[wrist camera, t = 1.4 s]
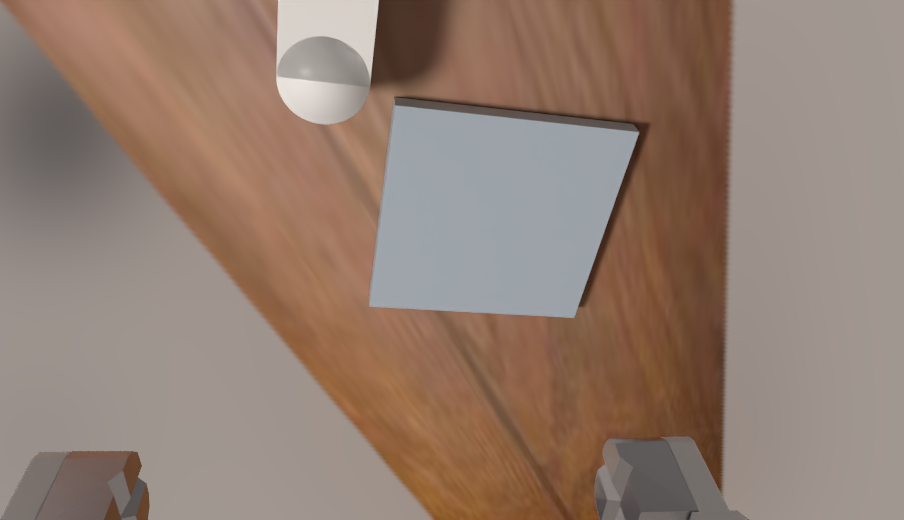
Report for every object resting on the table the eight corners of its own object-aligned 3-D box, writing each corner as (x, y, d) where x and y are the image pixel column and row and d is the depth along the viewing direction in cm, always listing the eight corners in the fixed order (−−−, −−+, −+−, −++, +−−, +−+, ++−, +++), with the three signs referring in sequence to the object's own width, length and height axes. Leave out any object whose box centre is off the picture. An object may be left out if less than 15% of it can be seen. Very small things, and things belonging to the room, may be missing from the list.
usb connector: (288, -131, 29) (280, -116, 26) (384, -115, 30) (388, -98, 26) (282, 84, 34) (275, 119, 31) (364, 93, 35) (365, 128, 32)
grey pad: (394, 97, 35) (394, 105, 35) (633, 123, 38) (639, 132, 37) (368, 295, 43) (369, 306, 42) (570, 307, 45) (573, 317, 44)
